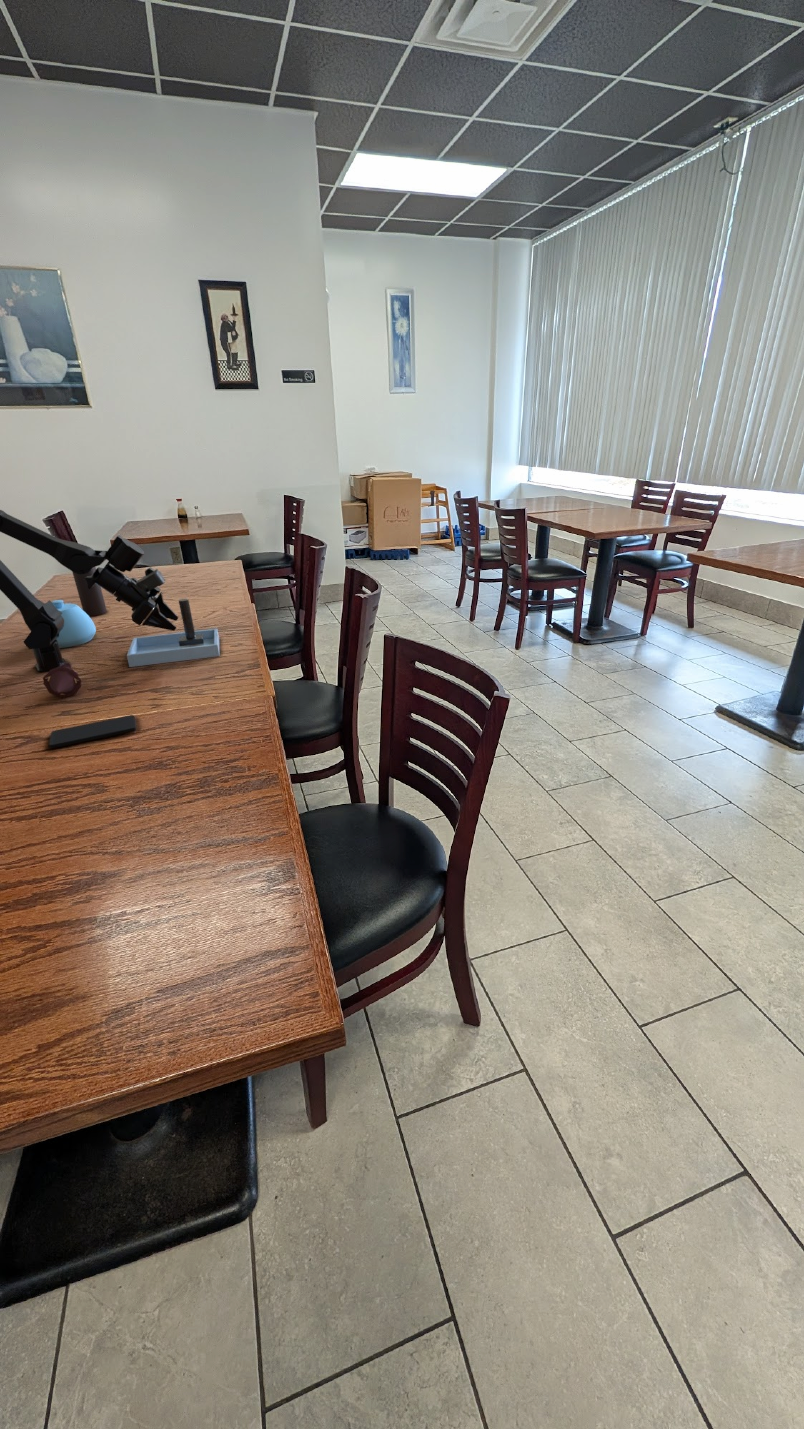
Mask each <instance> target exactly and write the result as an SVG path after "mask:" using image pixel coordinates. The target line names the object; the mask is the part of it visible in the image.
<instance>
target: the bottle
mask: <svg viewBox="0 0 804 1429" xmlns="http://www.w3.org/2000/svg"><path fill="white" fill-rule="evenodd" d="M96 567H97V566H96ZM96 567H94V568H93V569H92V570H91V571H90V572H88V573H86V574H76V573H74V572H72V571H71V573H72V577H73V580H74V583H75V588H76V591H77V594H78V597H79V598H78V599H79V601H80V604H81V609H82V610H83V611H84V612H85V613H86V614H87V615H88V616H89V617H97V616H102V615H104V614H106V613H107V612H108V610H107V606H106V602H105V598H104V594H103V591H102V587H100V586H99V585H97V584H96V583H95V584H94V586H93V587H92V588H91V589H88V587H87V582H86V580H85V578H86V577H87V576H92V574H93V573H94V572H95V570H96V569H97V568H96Z"/></svg>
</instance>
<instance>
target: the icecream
mask: <svg viewBox="0 0 804 1429" xmlns="http://www.w3.org/2000/svg"><path fill="white" fill-rule="evenodd" d="M42 682H43V683H42V684H43V686H44V687H45V688H46V690H47V692H48V693H49V694H50V695H53V696H57V697H59V698H67V697H74V696H75V695H76V694H77V693H78V692H79V690H80V689H81V688H82V679H81V678H80V677H79V673H78V672H77V671H75V670H74V669H72V663H71V662H70V661H66V662H65V663H63V664H62V667H57V668H54V669H51V670H48V671H47V673H46V674H45V675H44V676H43V677H42Z"/></svg>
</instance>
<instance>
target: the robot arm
mask: <svg viewBox="0 0 804 1429" xmlns="http://www.w3.org/2000/svg"><path fill="white" fill-rule="evenodd" d="M0 533H2V534H4V535H6V536H9V537H10V538H13V539H15V540H17V541H19V542H21V543H23V544H26V545H28V546H30V547H31V548H34V549H36V550H39V551H41V552H43V553H45V554H47V555H49V556H50V557H51V558H53V559H55V561H56V562H58V563H59V564H60V565H62V566H63V567H64V568H66V569H68V570H69V571H71V573H72V572H74V573H76V574H86V573H88V572H90V571H91V570H92V569H93V568H94V567H97V568H96V570H95V572H94V573H93V574H92V576H87V577H86V578H85V580H86V582H87V587H88V589H91V588H92V587H93V586H94V584H95V583H96V584H97V585H99V586H100V587H101V589H104V590H105V591H106V592H108V593H109V594H111V595H112V596H113V597H115V601H117V602H119V603H120V602H123V603H124V604H125V605H127V606H129V607H130V608H131V611H132V613H131V616H130V617H131V621H132V622H133V623H134V624H136V625H138V627H139V626H142V627H143V626H144V627H145V626H147V627H152V628H158V629H163V630H168V631H173V632H175V631H176V629H177V626H176V625H175V624H174V623H173V622H172V621H176V622H177V621H178V620H179V615H177V614H176V613H175V611H174V610H173V609H171V607H170V606H169V605H168V604H167V603H166V602H165V600H164V596H163V595H164V594H163V591H161V586H162V585H164V584H165V581H166V579H165V577H164V576H163V575H162V572H161V570H159V569H158V568H155V569H154V568H153V567H148V568H147V569H145V570H144V574H145V575H144V576H143V577H141V578H140V579H137V578H136V577H131V578H130V577H129V576H127V575H126V574H124V573H125V572H132V571H133V569H134V568H135V567H136V566H137V564H138V563H139V562H140V560H141V559H142V557H143V556H144V555H145V551H144V549H142V548H141V547H140V546H139V545H138V544H137V543H135V542H133V541H131V540H129V539H127V538H124V537H123V536H121V535H117V536H116V537H115V538H114V539H113V542H112V544H111V545H110V547H109V548H108V550H101V549H100V550H99V549H98V550H97V549H93V548H92V547H91V546H87V545H84V544H83V543H78V542H75V541H70V540H65V539H62V538H59V537H56V536H54V535H52V534H50V533H49V532H46V531H44V530H42V529H40V528H37V527H35V526H33V525H31V524H29V523H27V522H25V521H23V520H21V519H19V518H17V517H15V516H12V515H10V514H9V513H6V512H5V511H4V510H3V509H0ZM106 560H107V563H106V564H105V565H104V566H103V567H100V566H101V565H102V564H103V563H104V562H106ZM0 592H1V593H2V594H3V595H4V596H5V597H6V598H7V599H8V600H9V601H10V602H11V603H12V604H13V605H14V606H15V607H16V608H17V609H18V610H19V612H20V614H21V616H22V619H23V621H24V624H25V625H26V627H27V628H28V629H29V631H30V632H29V634H28V635H27V636H26V638H25V639H24V640H23V644H24V645H25V646H26V648H27V649H28V650H32V652H33V655H34V659H35V661H36V663H34V665H35V668H36V670H37V672H38V673H43V672H49V671H50V670H51V669H54V668H57V667H62V664H63V663H65V662H67V661H66V660H65V658H64V657H63V654H62V652H61V648H59V645H58V641H57V640H56V639H57V638H58V637H59V632H60V631H61V630H62V629H63V627H64V619H63V617H62V616H61V614H62V612H60V611H59V610H58V609H56V607H55V606H54V605H53V603H52V601H51V600H49V599H48V600H47V601H46V602H43V601H42V600H40V599H38V598H37V597H35V595H34V594H33V593H32V592H31V591H30V590H29V589H28V588H27V587H26V586H25V584H23V583H22V581H21V580H20V579H19V578H18V577H17V576H16V575H15V574H14V573H13V572H12V571H11V569H10V568H8V566H7V565H5V563H4V562H3V561H2V560H1V559H0ZM171 620H172V621H171Z"/></svg>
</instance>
